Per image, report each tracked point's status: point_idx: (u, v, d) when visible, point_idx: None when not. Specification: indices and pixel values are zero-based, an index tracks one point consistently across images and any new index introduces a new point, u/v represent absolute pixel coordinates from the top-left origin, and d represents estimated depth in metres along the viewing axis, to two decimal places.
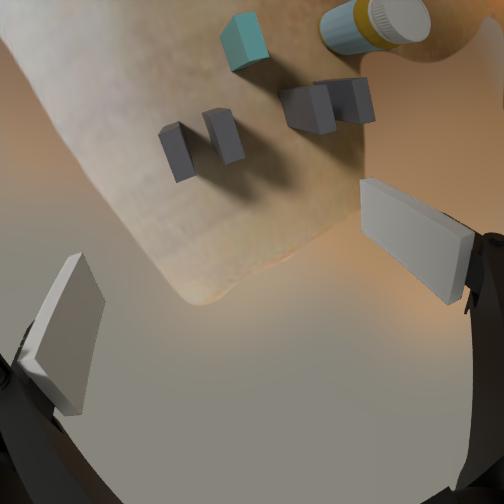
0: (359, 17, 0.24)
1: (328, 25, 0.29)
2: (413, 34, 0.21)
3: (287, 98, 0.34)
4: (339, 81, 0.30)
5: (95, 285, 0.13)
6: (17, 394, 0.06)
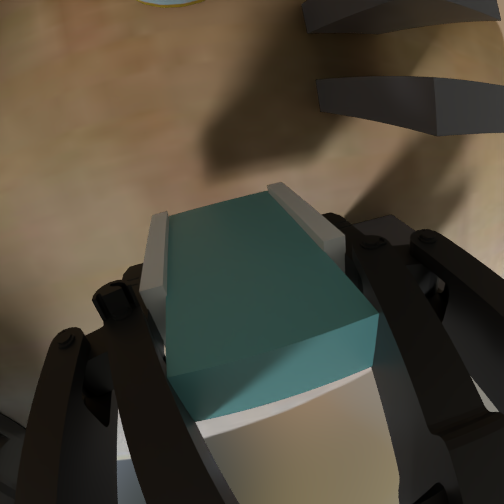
0: None
1: None
2: None
3: None
4: (377, 6, 0.08)
5: None
6: (139, 328, 0.08)
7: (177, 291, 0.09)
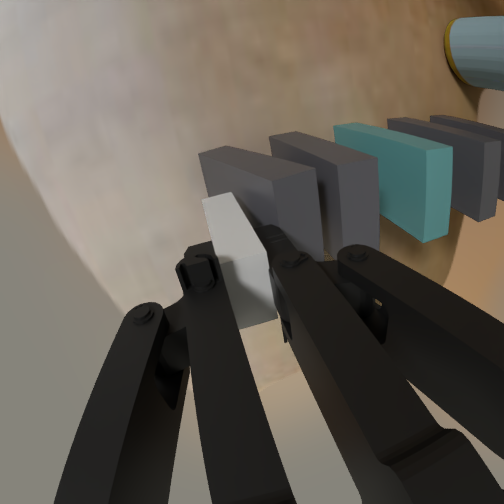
0: None
1: (470, 40, 0.16)
2: None
3: None
4: (493, 132, 0.16)
5: None
6: (221, 302, 0.08)
7: None
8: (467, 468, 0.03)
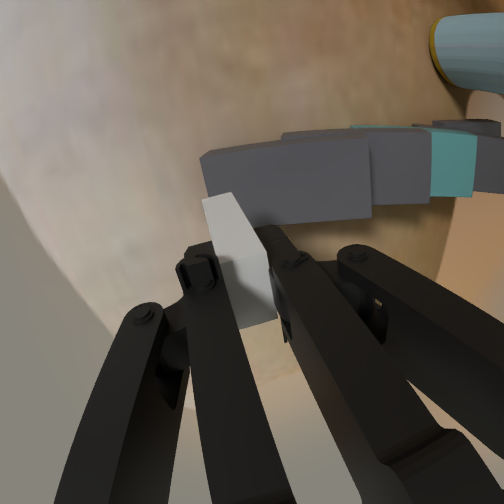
0: None
1: (456, 38, 0.15)
2: None
3: None
4: (488, 123, 0.22)
5: None
6: (221, 302, 0.08)
7: None
8: (468, 468, 0.03)
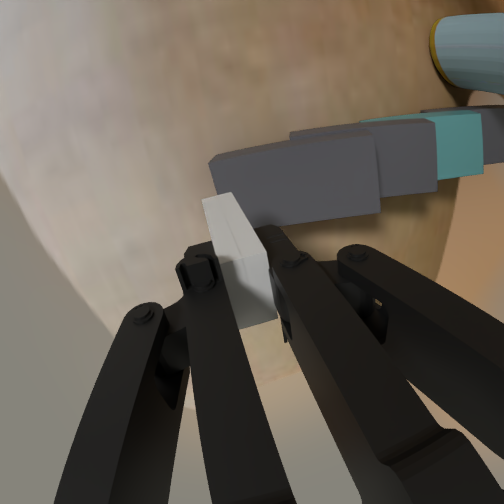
0: None
1: (456, 39, 0.15)
2: None
3: None
4: None
5: None
6: (221, 302, 0.08)
7: None
8: (468, 467, 0.03)
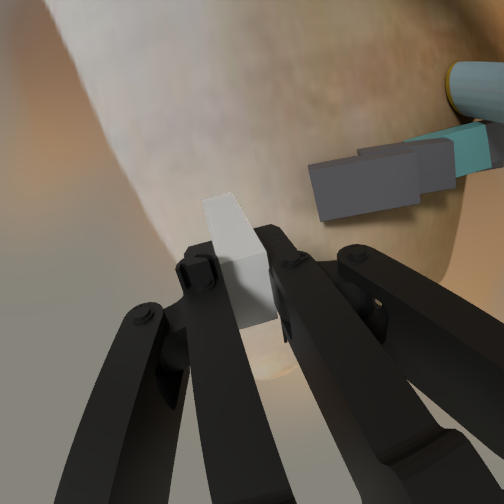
0: None
1: (465, 82, 0.23)
2: None
3: None
4: None
5: None
6: (221, 302, 0.08)
7: None
8: (467, 468, 0.03)
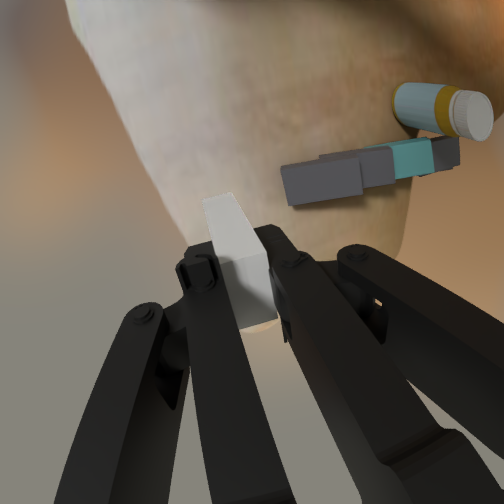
0: (439, 109, 0.30)
1: (405, 102, 0.35)
2: (480, 135, 0.28)
3: None
4: None
5: None
6: (221, 302, 0.08)
7: None
8: (468, 468, 0.03)
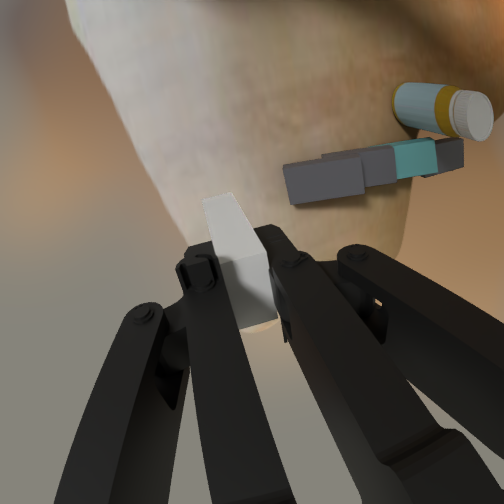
0: (440, 109, 0.30)
1: (405, 102, 0.35)
2: (480, 134, 0.28)
3: None
4: None
5: None
6: (221, 302, 0.08)
7: None
8: (468, 468, 0.03)
